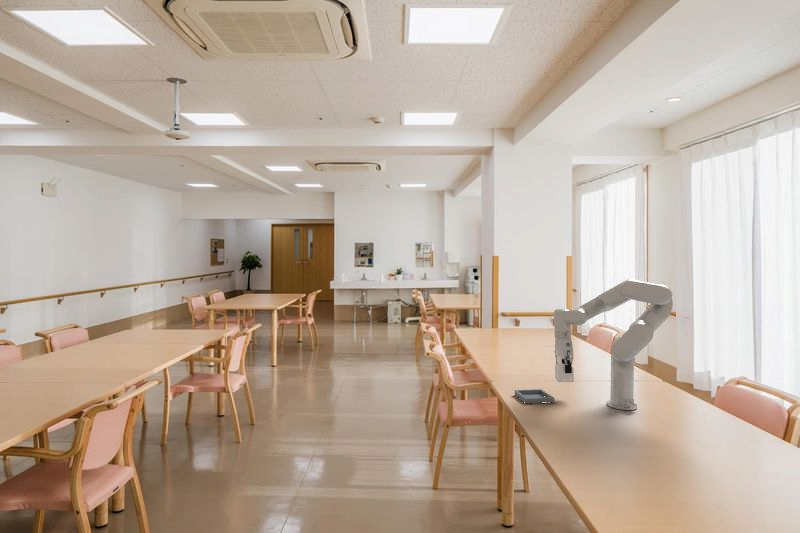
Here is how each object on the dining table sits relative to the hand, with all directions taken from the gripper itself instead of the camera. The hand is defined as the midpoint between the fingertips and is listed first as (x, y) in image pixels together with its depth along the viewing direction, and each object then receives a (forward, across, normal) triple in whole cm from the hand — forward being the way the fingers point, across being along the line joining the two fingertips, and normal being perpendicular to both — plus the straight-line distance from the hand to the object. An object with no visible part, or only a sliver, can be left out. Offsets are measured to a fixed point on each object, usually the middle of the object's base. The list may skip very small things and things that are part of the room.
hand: (564, 370), depth 217 cm
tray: (+13, +1, +15) cm, 20 cm away
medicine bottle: (+5, 0, 0) cm, 5 cm away
